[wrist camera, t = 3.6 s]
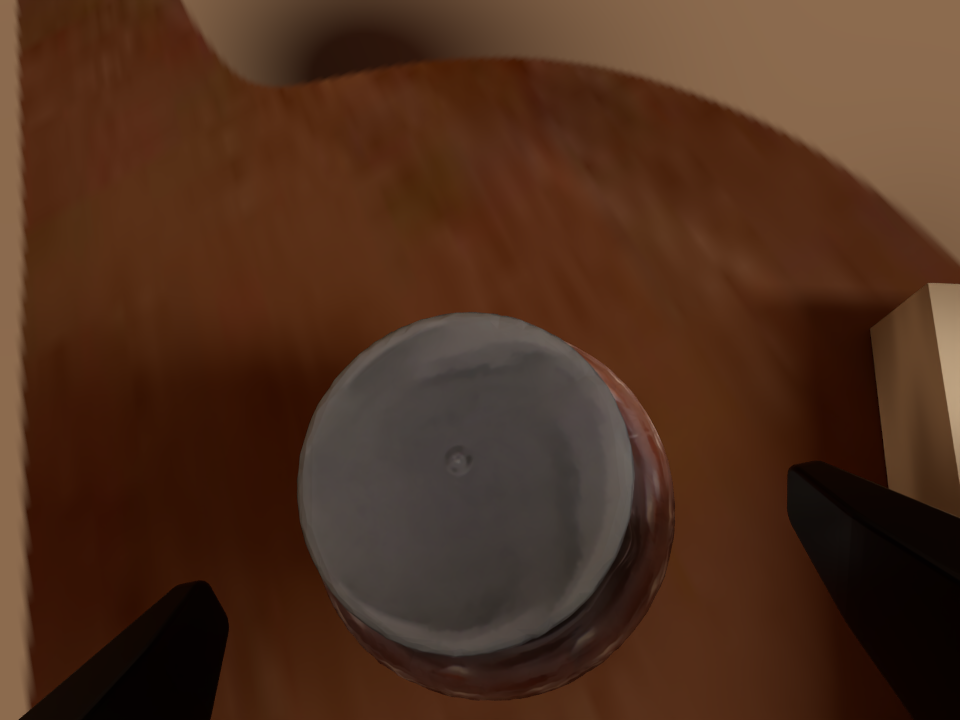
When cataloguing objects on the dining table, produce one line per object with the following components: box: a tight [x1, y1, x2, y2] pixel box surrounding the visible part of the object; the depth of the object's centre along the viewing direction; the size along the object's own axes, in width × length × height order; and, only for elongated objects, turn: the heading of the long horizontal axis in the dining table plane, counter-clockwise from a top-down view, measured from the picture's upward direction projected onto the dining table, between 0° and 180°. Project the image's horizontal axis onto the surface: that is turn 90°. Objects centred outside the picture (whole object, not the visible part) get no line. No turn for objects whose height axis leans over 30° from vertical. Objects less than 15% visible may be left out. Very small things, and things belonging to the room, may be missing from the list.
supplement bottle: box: [297, 312, 675, 700], centre depth 12 cm, size 6×6×11 cm
